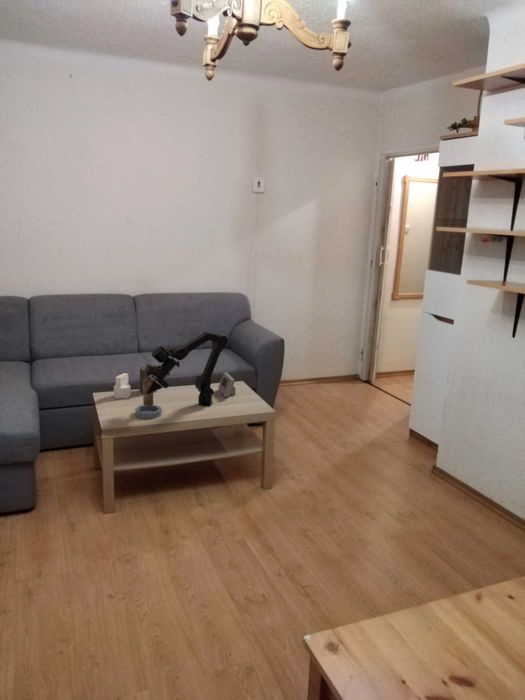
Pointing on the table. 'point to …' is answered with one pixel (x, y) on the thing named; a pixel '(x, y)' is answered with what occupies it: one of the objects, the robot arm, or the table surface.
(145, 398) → the brown tapered cylinder
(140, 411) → the ceramic ring dish
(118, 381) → the cylinder with rectangular tab
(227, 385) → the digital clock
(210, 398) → the robot arm
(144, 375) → the pillar candle
